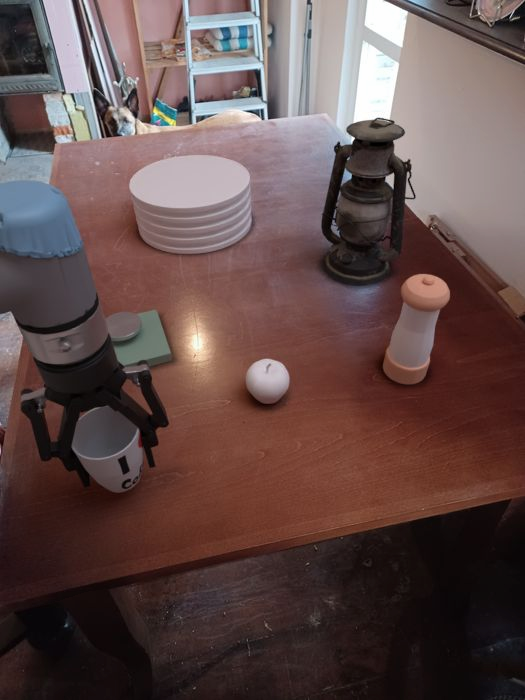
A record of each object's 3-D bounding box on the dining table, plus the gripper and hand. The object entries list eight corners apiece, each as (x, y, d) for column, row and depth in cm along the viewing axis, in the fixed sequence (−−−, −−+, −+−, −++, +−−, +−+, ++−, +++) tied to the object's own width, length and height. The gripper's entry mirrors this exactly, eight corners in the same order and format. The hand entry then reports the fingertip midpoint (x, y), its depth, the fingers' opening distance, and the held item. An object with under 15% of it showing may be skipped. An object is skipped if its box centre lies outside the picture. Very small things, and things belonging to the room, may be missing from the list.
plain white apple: (269, 419, 75) (269, 385, 69) (237, 395, 78) (235, 361, 73) (298, 393, 79) (300, 359, 73) (266, 372, 82) (266, 338, 77)
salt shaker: (388, 349, 86) (409, 259, 72) (429, 361, 83) (459, 270, 70) (377, 376, 81) (398, 285, 68) (420, 390, 79) (450, 298, 65)
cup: (133, 511, 60) (116, 468, 53) (78, 492, 62) (55, 448, 55) (162, 459, 66) (151, 414, 59) (111, 443, 68) (94, 397, 61)
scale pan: (77, 351, 82) (76, 348, 81) (74, 321, 87) (72, 318, 87) (145, 335, 84) (144, 331, 84) (137, 306, 90) (136, 303, 90)
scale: (77, 389, 80) (71, 375, 78) (71, 337, 89) (65, 323, 87) (173, 364, 84) (170, 350, 81) (158, 316, 93) (155, 302, 91)
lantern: (301, 266, 105) (308, 124, 84) (345, 230, 116) (360, 95, 95) (378, 297, 96) (407, 147, 76) (418, 255, 107) (452, 113, 86)
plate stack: (122, 249, 111) (110, 203, 103) (159, 194, 131) (151, 152, 123) (239, 258, 108) (237, 211, 100) (259, 200, 127) (259, 157, 119)
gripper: (-47, 396, 42) (38, 519, 58) (181, 341, 47) (201, 468, 63) (-40, 342, 47) (36, 469, 63) (165, 298, 52) (188, 425, 68)
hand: (119, 468), depth 63 cm, fingers closed on cup, 8 cm apart
